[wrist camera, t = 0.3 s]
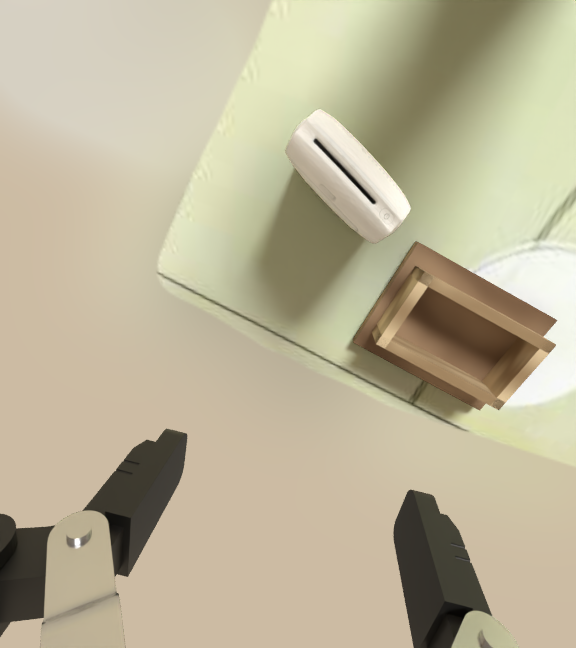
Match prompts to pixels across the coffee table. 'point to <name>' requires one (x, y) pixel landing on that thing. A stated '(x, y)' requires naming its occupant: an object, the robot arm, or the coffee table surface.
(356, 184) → the white game console
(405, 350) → the brown wooden frame
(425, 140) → the coffee table surface
